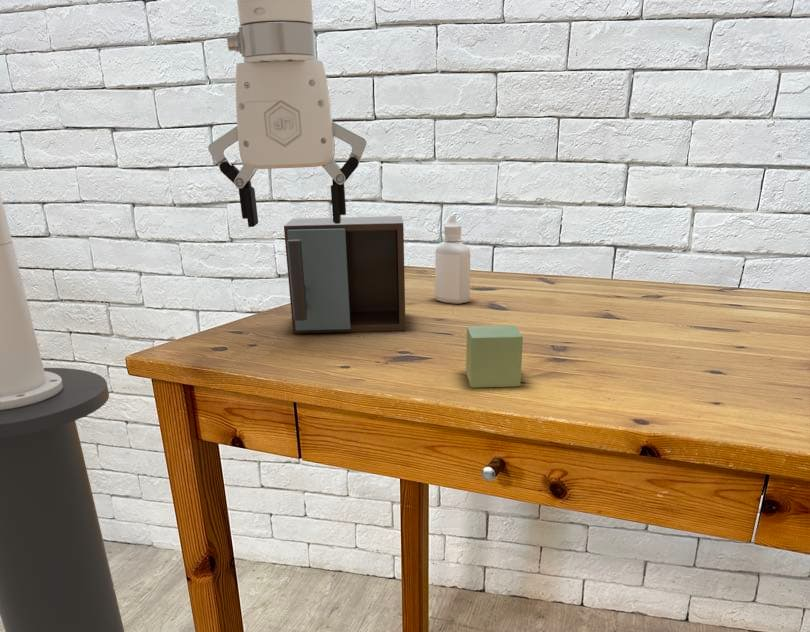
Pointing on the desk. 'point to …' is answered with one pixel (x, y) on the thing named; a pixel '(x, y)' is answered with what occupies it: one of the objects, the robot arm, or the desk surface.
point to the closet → (367, 270)
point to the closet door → (319, 278)
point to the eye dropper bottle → (452, 267)
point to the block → (494, 356)
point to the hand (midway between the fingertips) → (295, 224)
